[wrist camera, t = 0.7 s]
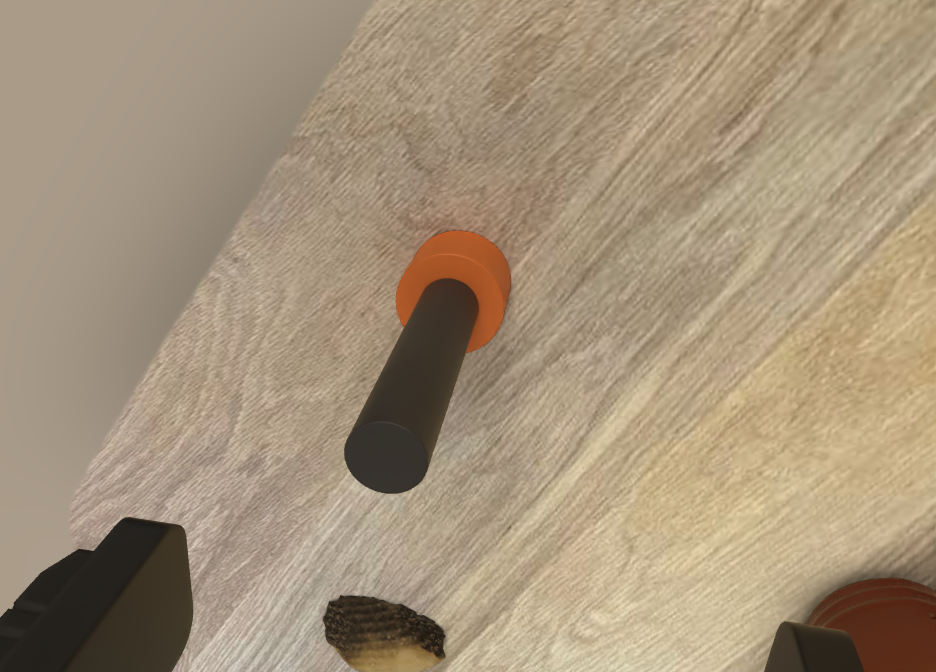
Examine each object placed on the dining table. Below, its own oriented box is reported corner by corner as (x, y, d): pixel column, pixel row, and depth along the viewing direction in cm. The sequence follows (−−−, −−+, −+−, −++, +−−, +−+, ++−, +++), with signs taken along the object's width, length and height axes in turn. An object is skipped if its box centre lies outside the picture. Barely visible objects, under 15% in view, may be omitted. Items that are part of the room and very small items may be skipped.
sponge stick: (399, 240, 35) (288, 401, 22) (498, 221, 34) (442, 378, 21) (424, 332, 36) (335, 530, 24) (520, 317, 35) (479, 515, 23)
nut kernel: (457, 642, 44) (437, 677, 41) (404, 686, 46) (381, 722, 43) (374, 556, 44) (348, 586, 41) (324, 604, 46) (297, 635, 43)
